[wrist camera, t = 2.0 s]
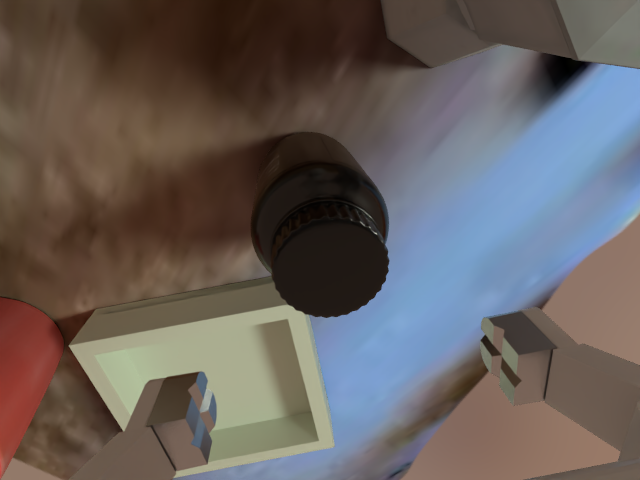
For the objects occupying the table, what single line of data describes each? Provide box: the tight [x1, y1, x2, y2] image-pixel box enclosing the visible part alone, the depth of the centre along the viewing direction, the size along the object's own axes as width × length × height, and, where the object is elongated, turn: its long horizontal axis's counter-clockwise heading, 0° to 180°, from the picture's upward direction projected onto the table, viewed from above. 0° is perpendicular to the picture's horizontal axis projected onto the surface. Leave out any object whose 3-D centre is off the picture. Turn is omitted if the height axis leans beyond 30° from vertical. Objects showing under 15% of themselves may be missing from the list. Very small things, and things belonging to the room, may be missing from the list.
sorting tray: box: [69, 276, 335, 478], centre depth 30 cm, size 16×16×4 cm
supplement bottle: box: [251, 132, 389, 318], centre depth 20 cm, size 7×7×12 cm
